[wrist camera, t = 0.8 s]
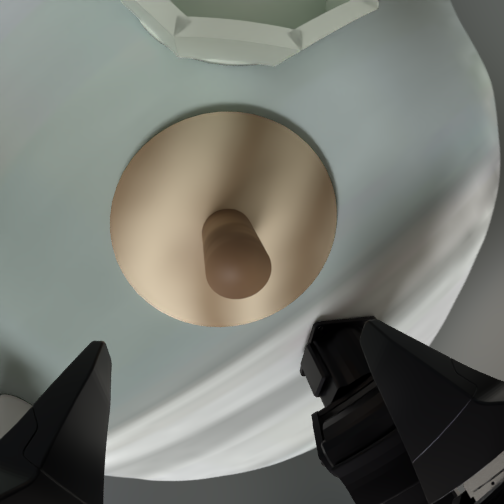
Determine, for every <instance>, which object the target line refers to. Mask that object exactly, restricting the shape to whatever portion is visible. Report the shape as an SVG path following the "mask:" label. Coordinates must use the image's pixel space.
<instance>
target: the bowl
mask: <svg viewBox="0 0 504 504" xmlns="http://www.w3.org/2000/svg"><path fill="white" fill-rule="evenodd" d="M121 2H122V3H123V5H124V6H126V7H127V8H128V9H129V10H130V11H131V12H132V13H133V14H134V15H135V16H136V17H138V19H139V21H140V22H141V24H142V25H143V27H144V28H145V29H146V30H147V31H148V32H149V33H150V35H152V36H153V37H154V38H155V39H156V40H158V41H159V42H160V43H161V44H163V45H165V46H166V47H168V48H169V49H170V50H171V51H172V52H173V53H174V54H175V55H176V56H177V57H178V58H192V59H195V60H199V61H203V62H207V63H212V64H219V65H230V66H247V65H258V64H261V65H267V66H274V67H275V66H276V65H278V64H280V63H281V62H283V61H285V60H286V59H288V58H290V57H291V56H293V55H295V54H297V53H298V52H300V51H302V50H303V49H305V48H307V47H308V46H310V45H312V44H313V43H315V42H317V41H318V40H320V39H322V38H323V37H325V36H327V35H329V34H330V33H332V32H334V31H336V30H337V29H339V28H341V27H343V26H345V25H347V24H349V23H350V22H352V21H354V20H356V19H358V18H360V17H362V16H364V15H366V14H368V13H370V12H372V11H374V10H377V9H378V0H121Z"/></svg>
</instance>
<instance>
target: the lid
mask: <svg viewBox="0 0 504 504" xmlns="http://www.w3.org/2000/svg"><path fill="white" fill-rule="evenodd" d="M336 224H337V207H336V198H335V193H334V190H333V186H332V182H331V180H330V177H329V175H328V173H327V170H326V169H325V167H324V165H323V163H322V162H321V160H320V158H319V157H318V156H317V154H316V153H315V152H314V151H313V150H312V148H311V147H310V146H309V145H308V144H307V143H306V142H305V141H304V140H303V139H302V138H300V137H299V136H298V135H297V134H295V133H294V132H292V131H291V130H289V129H288V128H286V127H285V126H283V125H281V124H279V123H277V122H275V121H273V120H270V119H267V118H264V117H261V116H258V115H254V114H248V113H242V112H214V113H206V114H201V115H198V116H194V117H191V118H187V119H185V120H182V121H180V122H178V123H176V124H173V125H171V126H170V127H168V128H166V129H165V130H163V131H161V132H160V133H158V134H157V135H156V136H154V137H153V138H152V139H151V140H150V141H148V142H147V143H146V144H145V145H144V146H143V147H142V148H141V149H140V150H139V151H138V152H137V154H136V155H135V156H134V157H133V158H132V160H131V161H130V163H129V164H128V166H127V167H126V169H125V170H124V172H123V174H122V176H121V178H120V180H119V183H118V185H117V187H116V191H115V194H114V197H113V201H112V207H111V214H110V233H111V240H112V246H113V249H114V253H115V256H116V259H117V262H118V264H119V266H120V268H121V270H122V272H123V274H124V275H125V277H126V279H127V280H128V282H129V283H130V285H131V286H132V287H133V288H134V289H135V290H136V292H137V293H138V294H139V295H140V296H141V297H142V298H143V299H145V300H146V301H147V302H148V303H149V304H151V305H152V306H153V307H155V308H156V309H158V310H159V311H161V312H163V313H165V314H167V315H169V316H170V317H173V318H175V319H178V320H181V321H183V322H187V323H191V324H195V325H201V326H208V327H227V326H237V325H242V324H247V323H251V322H254V321H257V320H260V319H263V318H265V317H268V316H270V315H272V314H274V313H276V312H278V311H279V310H281V309H283V308H284V307H286V306H287V305H289V304H290V303H292V302H293V301H294V300H295V299H297V298H298V297H299V296H300V295H301V294H302V293H303V292H304V291H305V290H306V289H307V288H308V287H309V286H310V285H311V284H312V283H313V281H314V280H315V278H316V277H317V276H318V274H319V273H320V271H321V269H322V268H323V266H324V264H325V262H326V260H327V258H328V256H329V253H330V251H331V248H332V244H333V241H334V237H335V231H336Z"/></svg>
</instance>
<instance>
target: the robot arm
mask: <svg viewBox="0 0 504 504" xmlns="http://www.w3.org/2000/svg"><path fill="white" fill-rule="evenodd" d="M319 327H320V328H319ZM111 369H112V363H111V358H110V355H109V352H108V349H107V346H106V343H105V342H104V341H92V342H91V343H90V344H89V345H88V346H87V347H86V348H85V349H84V350H83V351H82V352H81V353H80V354H79V355H78V357H77V358H76V359H75V360H74V361H73V362H72V363H71V364H70V365H69V366H68V367H67V368H66V369H65V370H64V371H63V372H62V374H61V375H60V376H59V377H58V378H57V379H56V380H55V381H54V382H53V383H52V384H51V385H50V387H49V388H48V389H47V390H46V391H45V392H44V393H43V394H42V395H41V397H40V398H39V399H38V400H37V401H36V402H35V403H34V404H33V407H31V408H30V409H29V410H28V411H27V412H26V413H25V414H24V416H23V417H22V418H21V419H20V420H19V421H18V422H17V423H16V424H15V425H14V426H13V427H12V428H11V429H10V430H9V431H8V432H7V433H6V434H5V435H4V436H3V437H2V438H1V439H0V504H103V492H104V491H103V490H104V468H105V453H106V441H107V431H108V422H109V413H110V401H111ZM300 373H301V375H302V376H306V378H307V380H308V383H309V385H310V387H311V389H312V392H313V394H314V396H315V397H320V398H321V400H322V402H323V404H324V406H325V408H323V409H322V410H320V411H317V412H315V413H313V414H312V415H311V416H312V421H313V429H314V434H315V440H316V445H317V450H318V456H319V459H320V460H321V464H322V465H323V466H325V467H326V468H327V469H328V470H329V472H330V473H332V474H333V475H334V476H336V477H338V478H340V480H341V481H342V482H343V484H344V485H345V486H346V488H347V490H348V491H349V493H350V495H351V496H352V498H353V500H354V502H355V503H356V504H504V381H501V380H498V379H495V378H493V377H491V376H488V375H486V374H484V373H481V372H479V371H477V370H474V369H472V368H470V367H468V366H466V365H464V364H462V363H460V362H458V361H456V360H454V359H452V358H451V359H450V357H448V356H446V355H444V354H442V353H440V352H438V351H437V350H435V349H433V348H431V347H429V346H427V345H425V344H423V343H421V342H419V341H417V340H416V339H414V338H412V337H410V336H408V335H406V334H404V333H402V332H400V331H398V330H396V329H395V328H393V327H391V326H389V325H387V324H385V323H383V322H381V321H379V320H377V319H376V318H375V317H374V316H370V317H361V318H352V319H342V320H331V321H319V322H316V323H315V324H314V325H313V328H312V332H311V335H310V339H309V342H308V344H307V345H306V348H305V351H304V355H303V358H302V361H301V369H300ZM462 484H463V486H464V487H465V489H466V490H465V491H464V492H463V493H462V494H460V492H459V491H458V489H457V487H459V486H460V485H462Z"/></svg>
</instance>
